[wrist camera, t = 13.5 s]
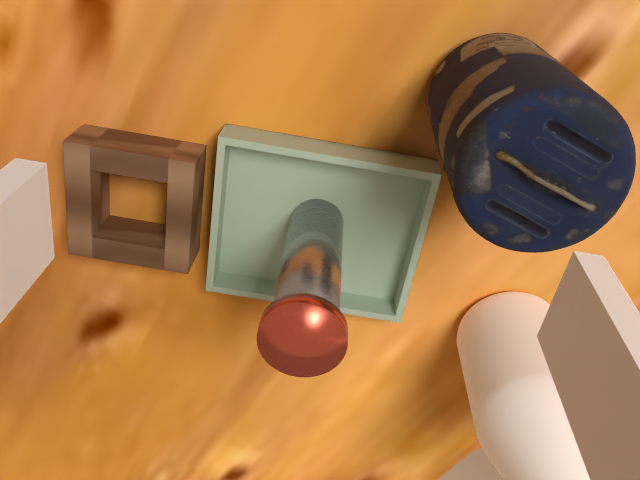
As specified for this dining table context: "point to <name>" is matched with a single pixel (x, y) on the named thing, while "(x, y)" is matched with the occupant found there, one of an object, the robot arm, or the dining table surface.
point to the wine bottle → (515, 391)
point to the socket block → (139, 162)
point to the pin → (307, 296)
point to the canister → (527, 145)
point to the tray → (328, 184)
